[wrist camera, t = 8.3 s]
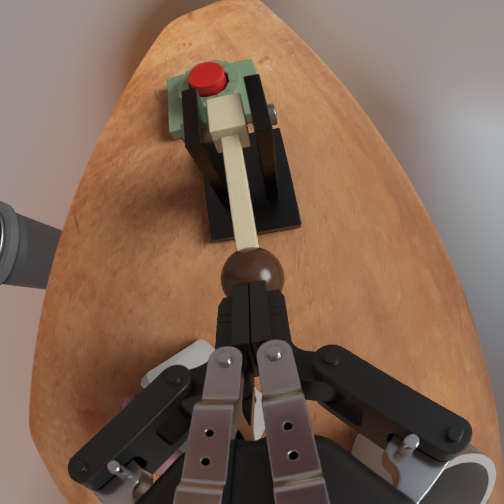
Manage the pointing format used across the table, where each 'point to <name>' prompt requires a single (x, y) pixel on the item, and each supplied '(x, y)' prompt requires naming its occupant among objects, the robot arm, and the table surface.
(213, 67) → the button
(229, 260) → the lever
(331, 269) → the table surface
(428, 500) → the cup
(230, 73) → the button block
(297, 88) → the table surface
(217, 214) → the bracket
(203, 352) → the electrical switch
